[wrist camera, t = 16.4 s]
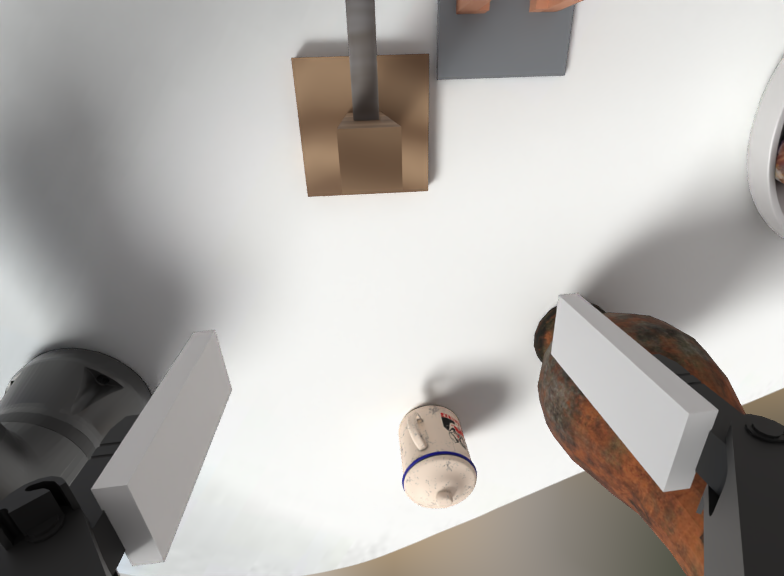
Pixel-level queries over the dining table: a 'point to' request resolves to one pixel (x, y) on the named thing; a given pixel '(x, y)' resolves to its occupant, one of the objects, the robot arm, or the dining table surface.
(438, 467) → the teacup with lid
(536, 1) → the c link
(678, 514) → the pitcher
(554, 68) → the coaster
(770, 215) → the bowl
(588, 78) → the dining table surface
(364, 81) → the hook stand
